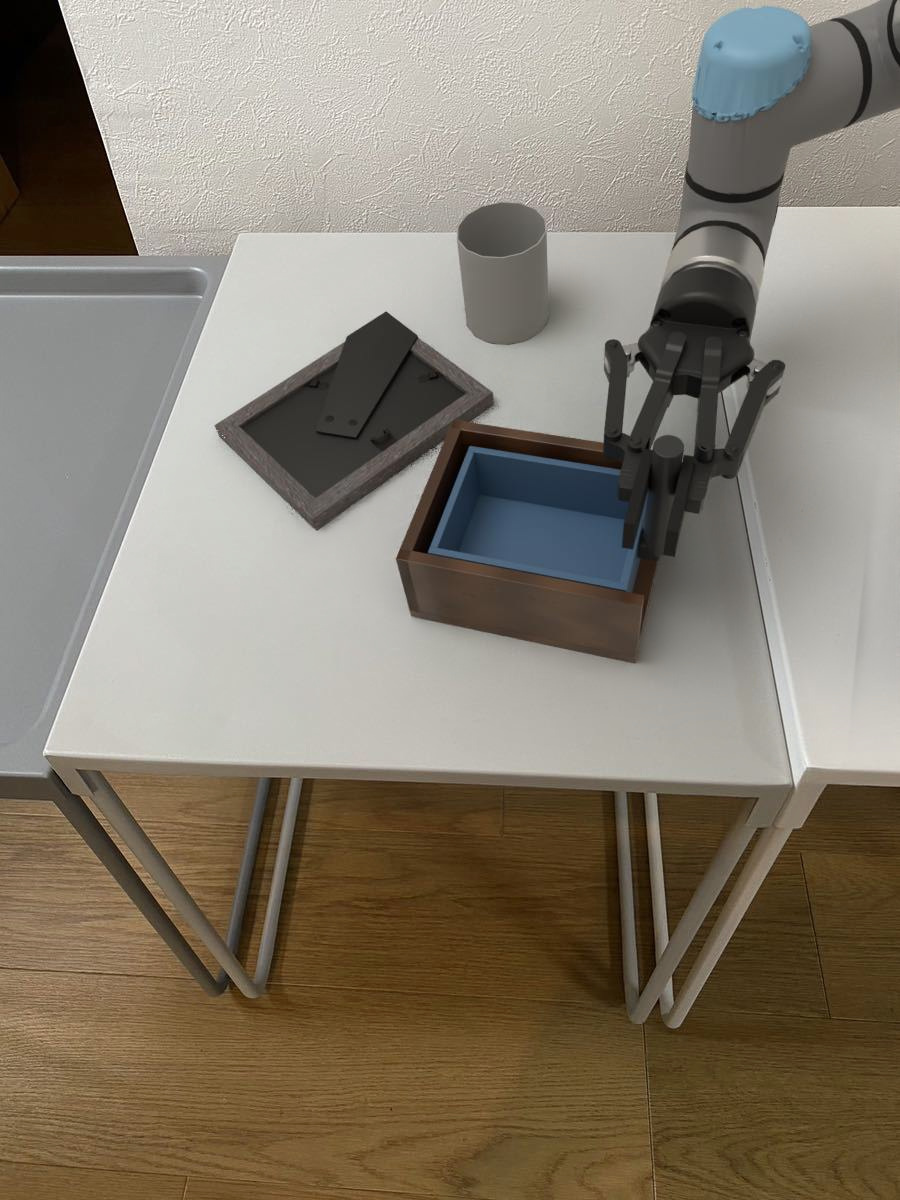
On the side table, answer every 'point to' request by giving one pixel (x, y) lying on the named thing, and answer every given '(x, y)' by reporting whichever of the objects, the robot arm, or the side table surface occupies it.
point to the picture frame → (353, 418)
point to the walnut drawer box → (510, 595)
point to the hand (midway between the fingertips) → (649, 539)
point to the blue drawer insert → (555, 516)
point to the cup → (504, 271)
